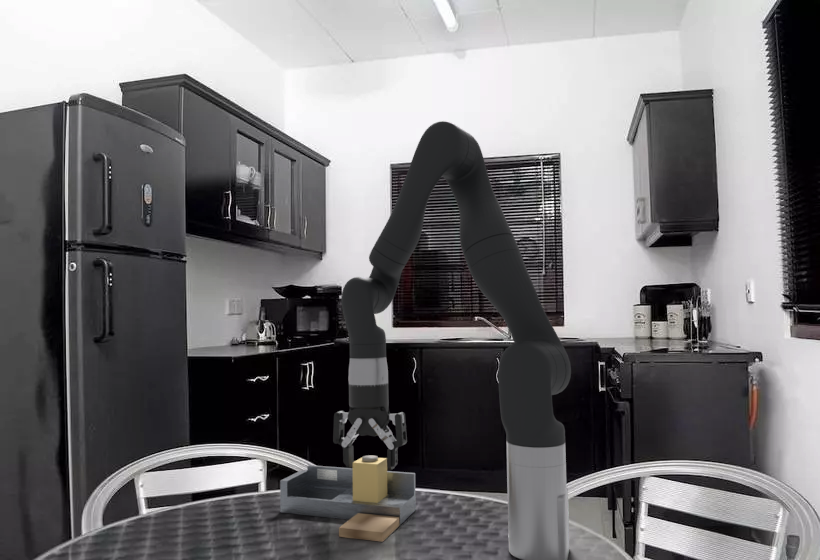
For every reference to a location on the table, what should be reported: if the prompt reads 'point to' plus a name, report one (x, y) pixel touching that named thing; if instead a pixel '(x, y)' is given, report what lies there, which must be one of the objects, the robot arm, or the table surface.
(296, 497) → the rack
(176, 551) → the table surface
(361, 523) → the pad
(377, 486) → the yellow block with dome
